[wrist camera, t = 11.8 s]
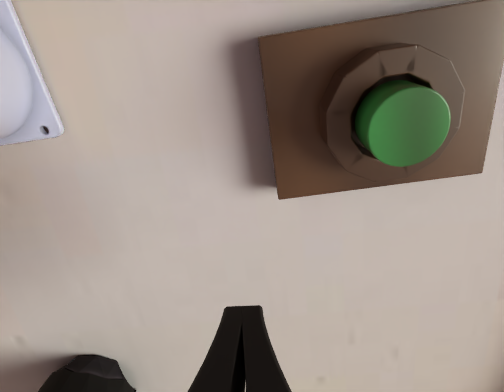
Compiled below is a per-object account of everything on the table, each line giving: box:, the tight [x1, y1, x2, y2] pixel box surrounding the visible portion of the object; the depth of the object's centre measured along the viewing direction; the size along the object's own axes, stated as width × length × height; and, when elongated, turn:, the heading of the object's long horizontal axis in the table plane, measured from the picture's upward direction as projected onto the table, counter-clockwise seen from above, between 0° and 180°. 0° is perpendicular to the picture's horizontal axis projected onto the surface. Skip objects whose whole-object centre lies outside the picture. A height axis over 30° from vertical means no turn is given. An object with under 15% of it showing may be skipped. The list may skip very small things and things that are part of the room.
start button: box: [355, 80, 451, 167], centre depth 15 cm, size 4×4×2 cm
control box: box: [258, 0, 504, 200], centre depth 17 cm, size 12×9×4 cm
